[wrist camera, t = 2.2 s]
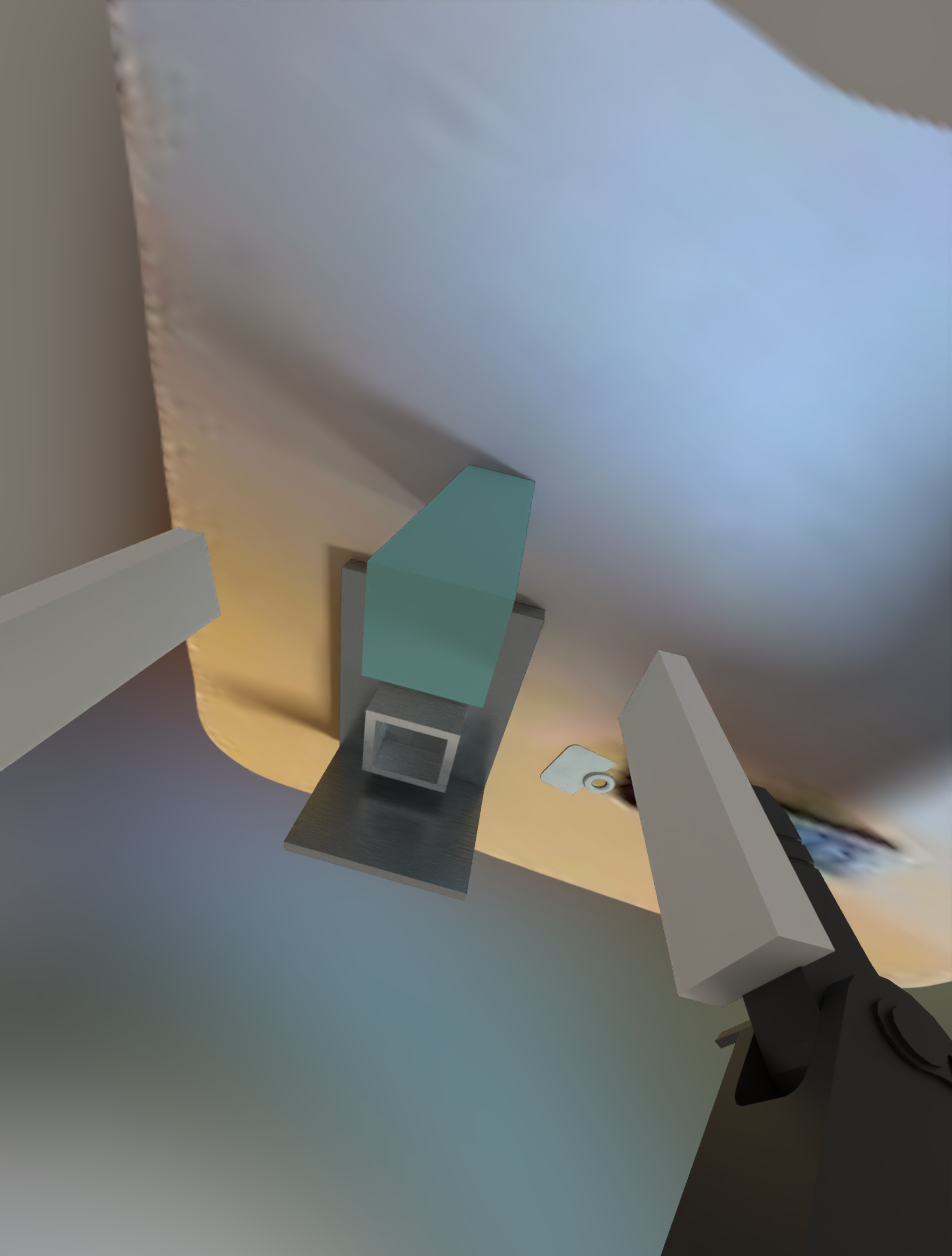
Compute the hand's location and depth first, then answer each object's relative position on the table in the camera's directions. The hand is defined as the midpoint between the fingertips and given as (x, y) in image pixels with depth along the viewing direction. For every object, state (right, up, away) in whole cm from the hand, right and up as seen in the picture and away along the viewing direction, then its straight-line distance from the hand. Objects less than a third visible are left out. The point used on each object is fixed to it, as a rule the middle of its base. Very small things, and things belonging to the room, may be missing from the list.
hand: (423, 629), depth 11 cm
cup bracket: (-2, -5, +21) cm, 22 cm away
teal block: (+3, +7, +12) cm, 15 cm away
